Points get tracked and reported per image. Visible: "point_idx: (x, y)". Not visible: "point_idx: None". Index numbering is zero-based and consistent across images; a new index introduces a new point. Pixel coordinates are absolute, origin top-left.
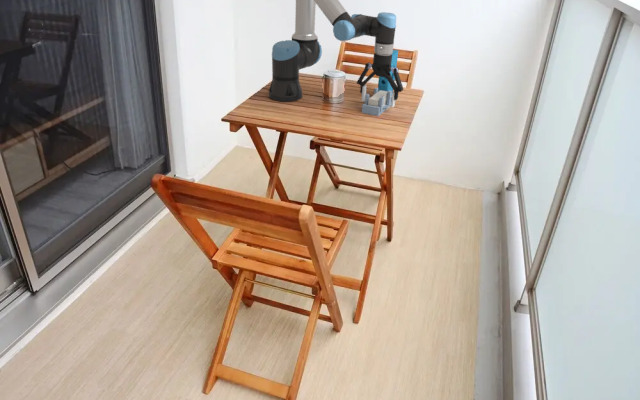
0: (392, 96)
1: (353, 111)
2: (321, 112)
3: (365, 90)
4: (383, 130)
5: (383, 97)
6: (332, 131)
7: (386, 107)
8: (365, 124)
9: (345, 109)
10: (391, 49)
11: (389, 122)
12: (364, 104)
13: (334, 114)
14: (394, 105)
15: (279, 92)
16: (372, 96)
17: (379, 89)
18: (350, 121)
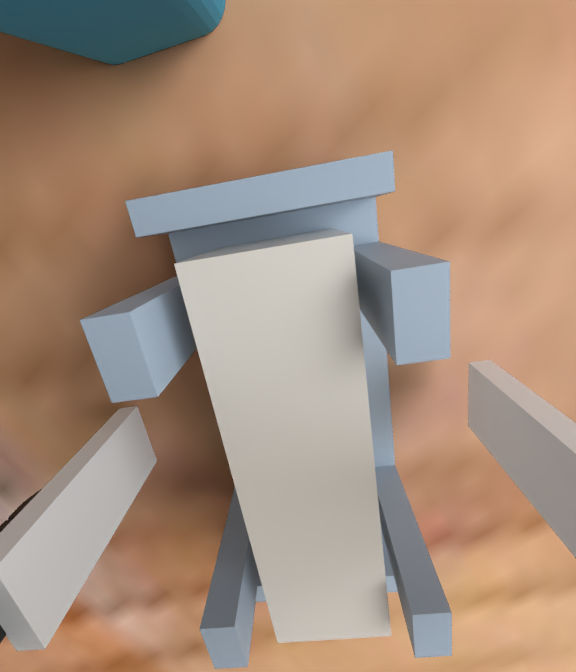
0: (566, 537)
1: (197, 544)
2: (76, 651)
3: (71, 520)
4: (523, 666)
5: (450, 620)
6: None
7: (387, 365)
8: (389, 654)
9: (131, 546)
10: None
11: (516, 563)
12: (258, 591)
13: (150, 637)
14: (493, 366)
15: None
16: (268, 573)
17: (38, 38)
18: (292, 663)
